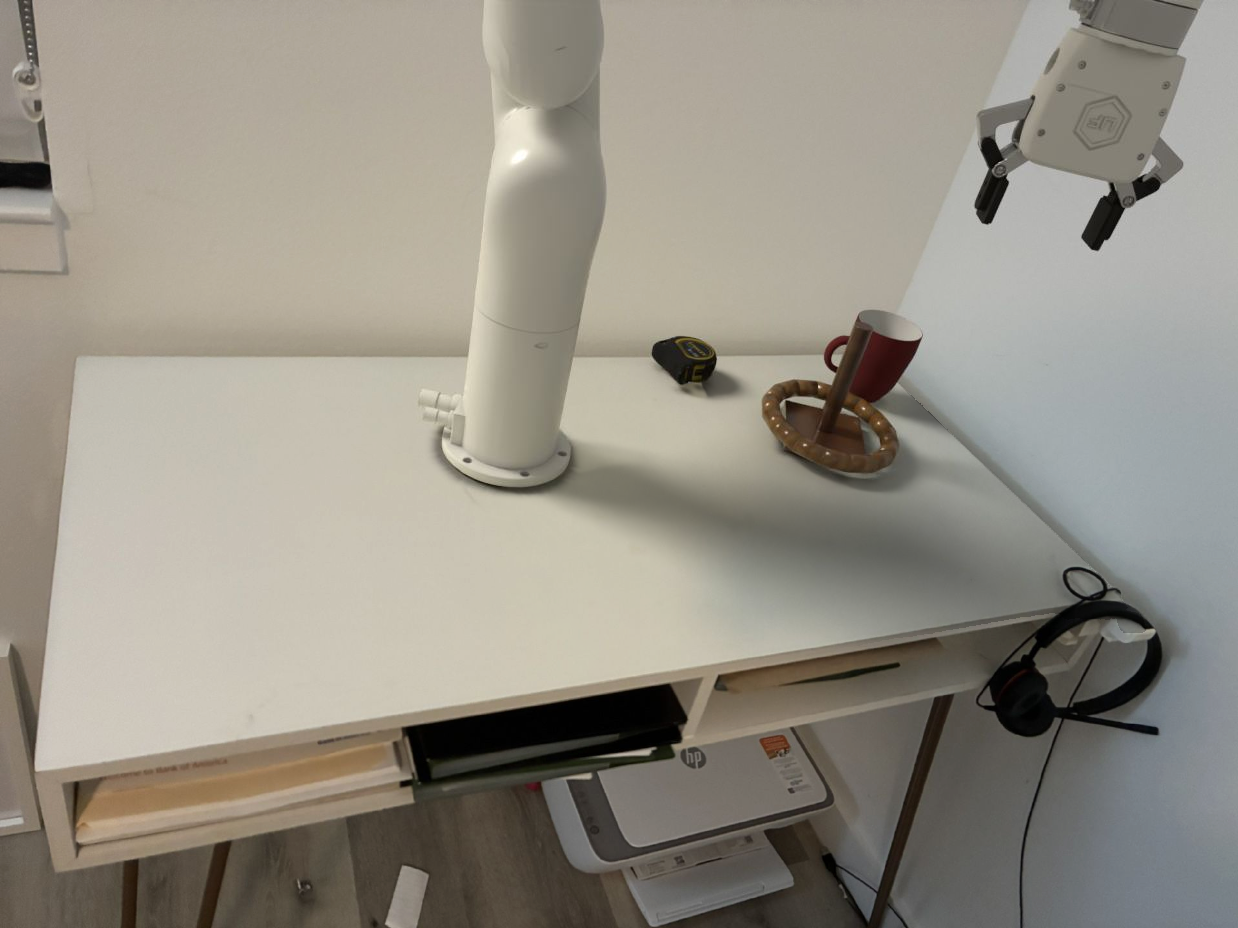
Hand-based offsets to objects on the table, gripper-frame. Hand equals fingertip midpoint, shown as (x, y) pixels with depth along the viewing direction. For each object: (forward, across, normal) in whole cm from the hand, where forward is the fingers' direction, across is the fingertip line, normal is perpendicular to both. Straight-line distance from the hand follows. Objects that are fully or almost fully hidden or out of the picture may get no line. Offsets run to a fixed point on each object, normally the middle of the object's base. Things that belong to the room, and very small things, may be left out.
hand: (1035, 232), depth 81 cm
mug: (+31, -4, +22) cm, 38 cm away
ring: (+28, -9, +9) cm, 31 cm away
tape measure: (+31, -26, +16) cm, 43 cm away
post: (+30, -9, +9) cm, 33 cm away
